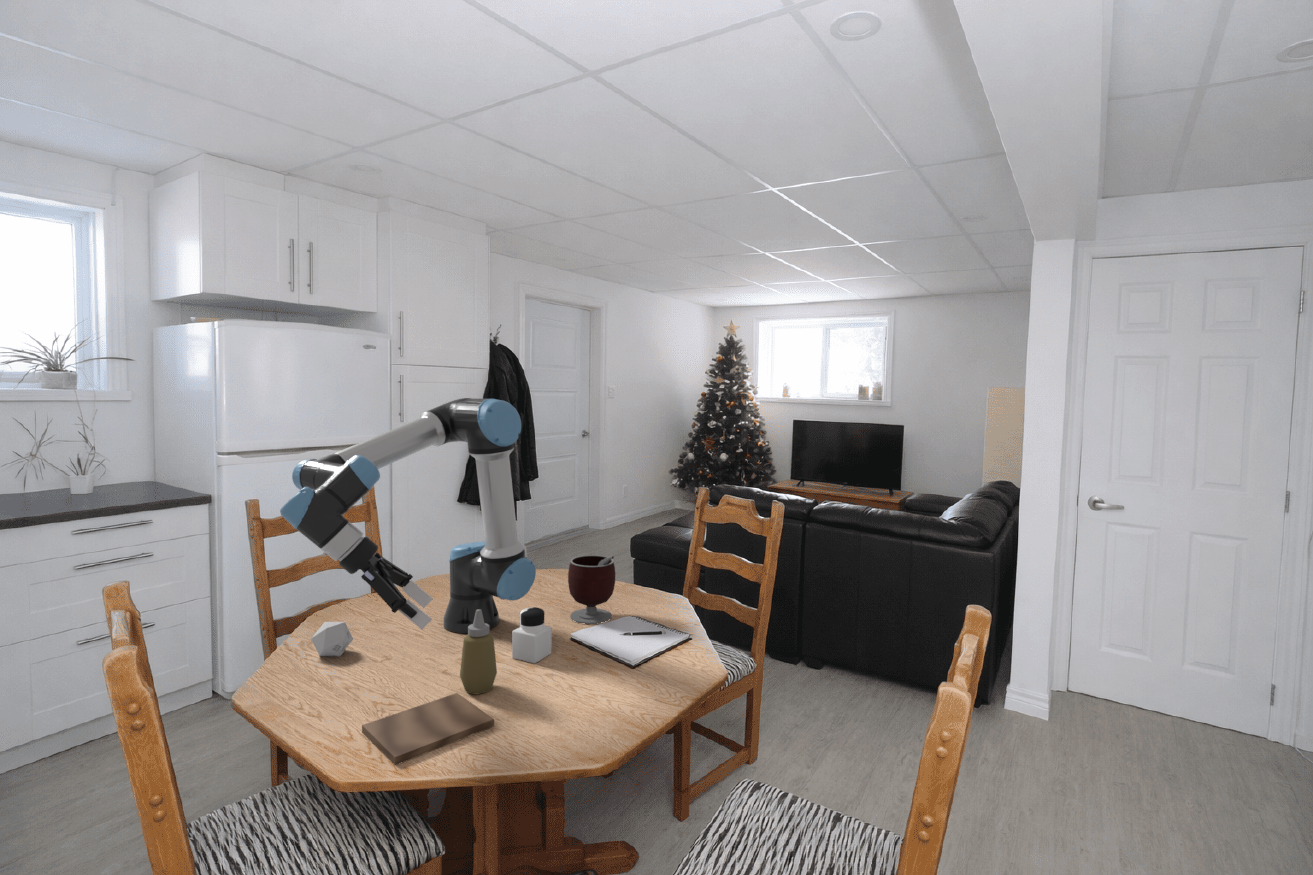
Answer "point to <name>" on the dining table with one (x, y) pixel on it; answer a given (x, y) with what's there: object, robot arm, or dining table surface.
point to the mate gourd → (591, 586)
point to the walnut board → (426, 727)
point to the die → (332, 639)
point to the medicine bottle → (531, 636)
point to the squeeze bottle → (478, 657)
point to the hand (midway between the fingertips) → (427, 613)
